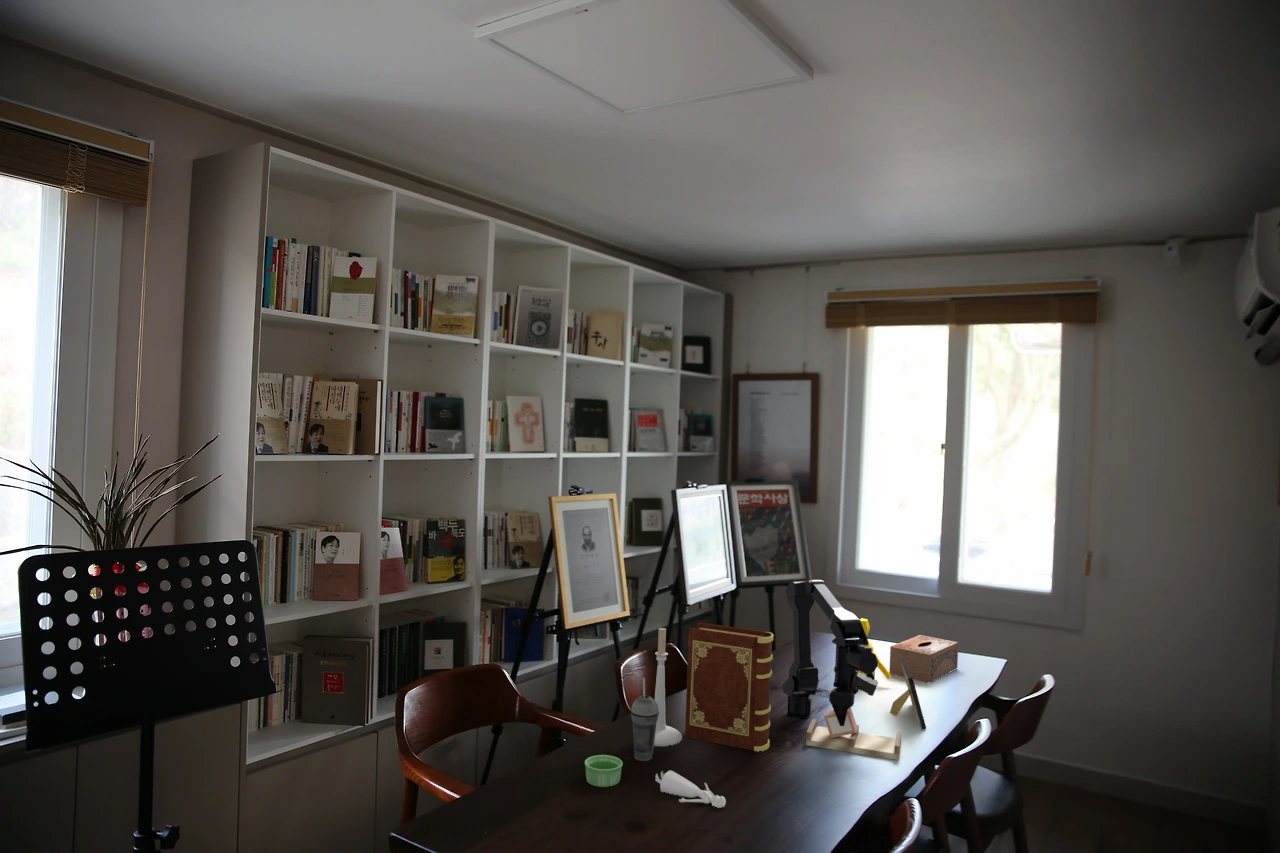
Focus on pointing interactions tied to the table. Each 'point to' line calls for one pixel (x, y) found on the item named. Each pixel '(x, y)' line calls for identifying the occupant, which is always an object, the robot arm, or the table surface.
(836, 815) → the table surface
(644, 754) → the beverage cup
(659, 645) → the candlestick
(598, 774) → the ramekin
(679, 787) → the woman figurine
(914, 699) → the picture frame
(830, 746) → the ledge
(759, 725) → the decorative book
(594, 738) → the table surface
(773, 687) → the table surface
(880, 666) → the figure statuette
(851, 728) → the frame block
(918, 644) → the tissue box cover
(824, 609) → the robot arm
